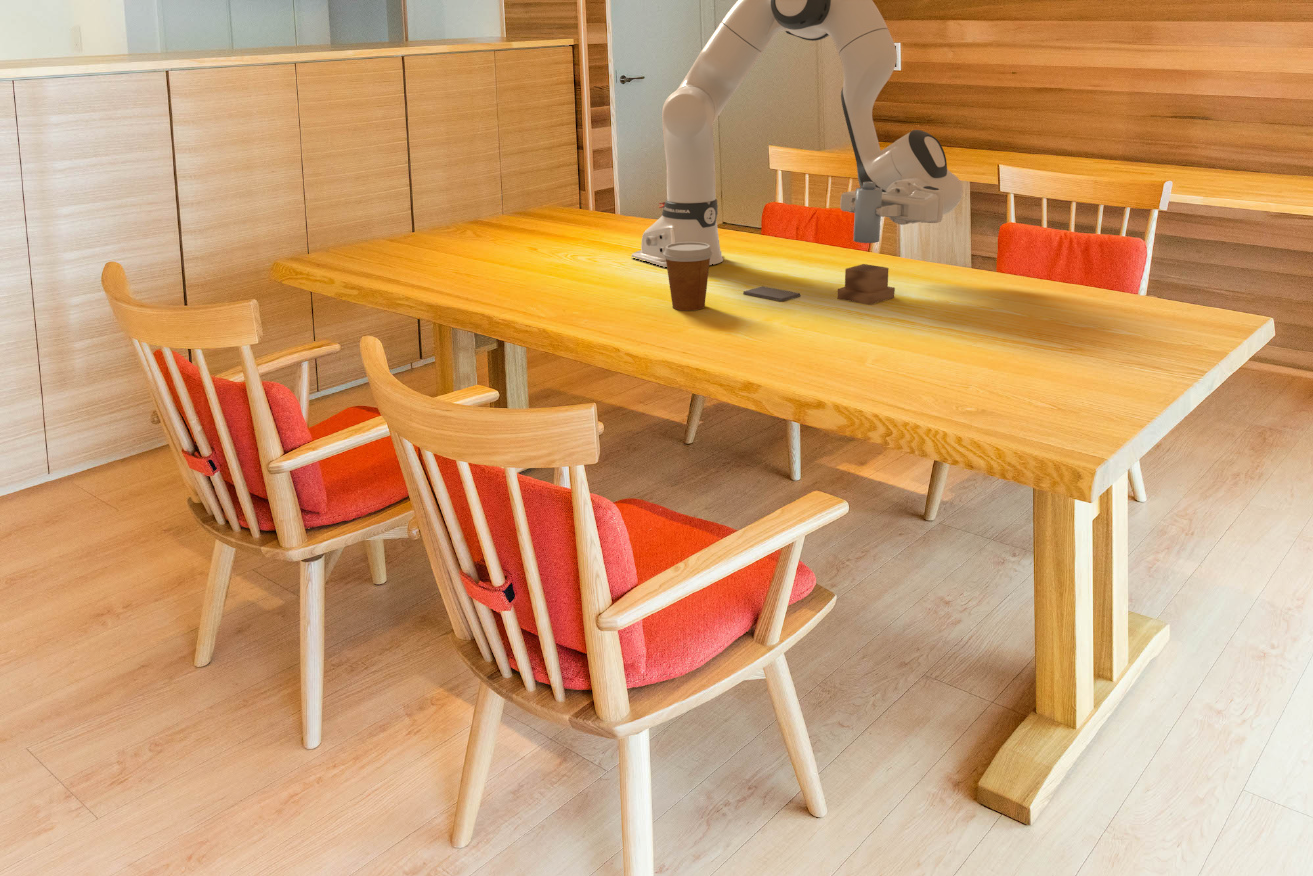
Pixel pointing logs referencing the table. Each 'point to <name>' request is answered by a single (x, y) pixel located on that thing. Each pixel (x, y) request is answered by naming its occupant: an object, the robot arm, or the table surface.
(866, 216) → the gray bottle
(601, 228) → the table surface
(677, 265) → the disposable coffee cup
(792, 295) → the mat
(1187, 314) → the table surface
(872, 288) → the brown stepped pedestal
